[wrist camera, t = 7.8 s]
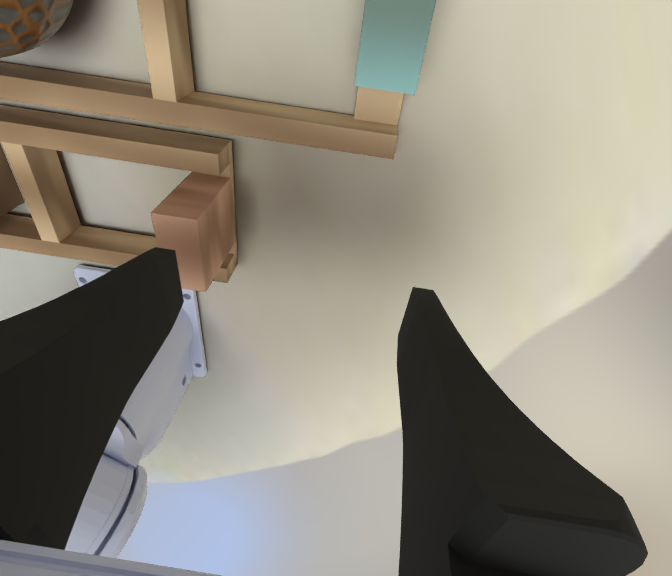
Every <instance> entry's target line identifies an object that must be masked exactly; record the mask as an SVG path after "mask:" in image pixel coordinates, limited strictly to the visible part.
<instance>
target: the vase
mask: <svg viewBox="0 0 672 576" xmlns="http://www.w3.org/2000/svg"><path fill="white" fill-rule="evenodd" d="M73 1H74V0H0V58H1V57H7V56H11V55H15V54H19V53H22V52H25V51H28V50H31V49H33V48H35V47H38V46H39V45H41V44H42V43H44V42H45V41H47V40H48V39H49V38H51V37H52V36H53V35H54V34H55V33H56V32H57V31H58V30H59V29H60V27H61V26H62V25H63V23H64V22H65V20H66V18H67V16H68V14H69V12H70V10H71V8H72V4H73Z"/></svg>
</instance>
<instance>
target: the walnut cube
mask: <svg viewBox="0 0 672 576" xmlns="http://www.w3.org/2000/svg"><path fill="white" fill-rule="evenodd" d="M23 202H24V199H23V197H22V195H21V192H20V190H19V188H18V185H17V183H16V180H15V178H14V176H13V173H12V171H11V168H10V166H9V164H8V161H7V159H6V157H5V154H4V152H3V149H2V147H1V145H0V217H1V216H2V215H4V214H6V213H7V212H9V211H10V210H12V209H14V208H15V207H17V206H19V205H20V204H22V203H23Z"/></svg>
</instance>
